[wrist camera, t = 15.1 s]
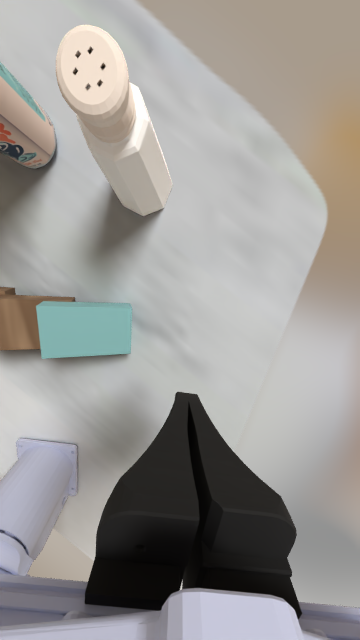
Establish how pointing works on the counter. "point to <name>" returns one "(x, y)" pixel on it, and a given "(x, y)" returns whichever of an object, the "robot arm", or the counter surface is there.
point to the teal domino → (84, 328)
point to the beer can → (23, 125)
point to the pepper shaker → (113, 118)
